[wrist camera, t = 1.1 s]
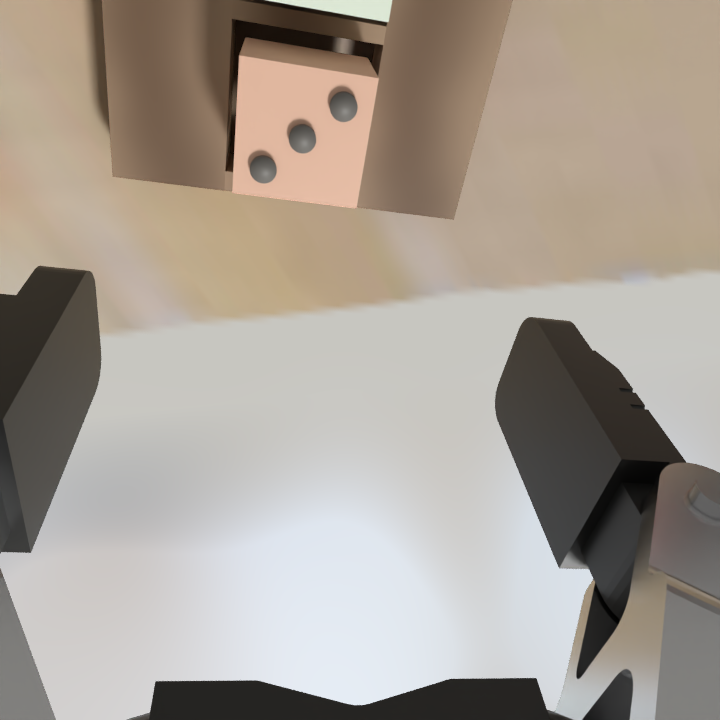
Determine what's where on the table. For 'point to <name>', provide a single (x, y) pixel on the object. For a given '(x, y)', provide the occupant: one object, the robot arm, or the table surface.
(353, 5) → the pale green dotted block
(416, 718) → the robot arm
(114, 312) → the table surface
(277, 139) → the pink dotted block
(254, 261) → the table surface
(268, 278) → the table surface
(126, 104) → the socket board
